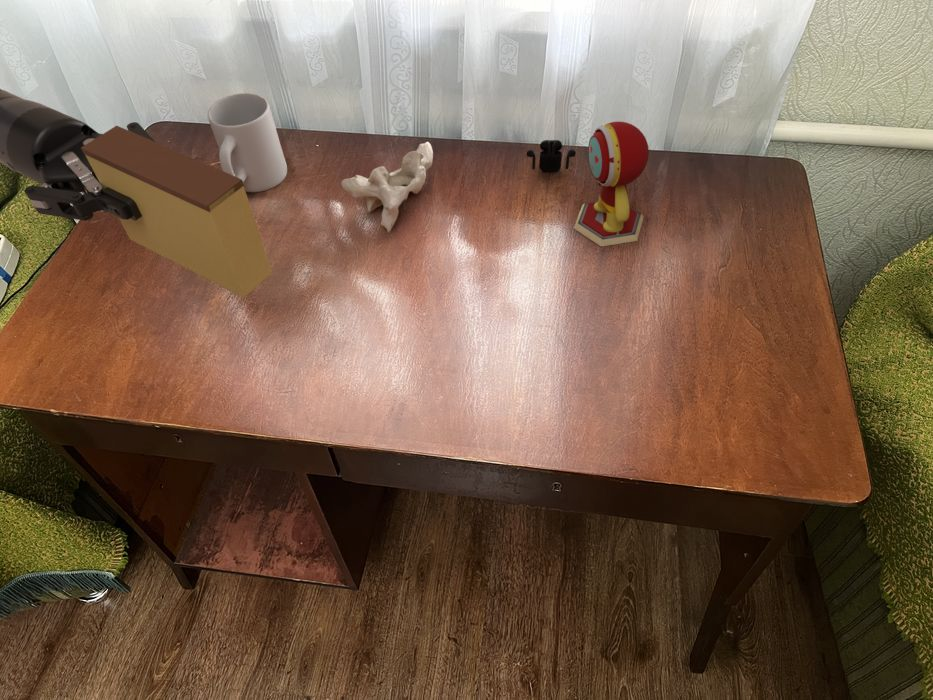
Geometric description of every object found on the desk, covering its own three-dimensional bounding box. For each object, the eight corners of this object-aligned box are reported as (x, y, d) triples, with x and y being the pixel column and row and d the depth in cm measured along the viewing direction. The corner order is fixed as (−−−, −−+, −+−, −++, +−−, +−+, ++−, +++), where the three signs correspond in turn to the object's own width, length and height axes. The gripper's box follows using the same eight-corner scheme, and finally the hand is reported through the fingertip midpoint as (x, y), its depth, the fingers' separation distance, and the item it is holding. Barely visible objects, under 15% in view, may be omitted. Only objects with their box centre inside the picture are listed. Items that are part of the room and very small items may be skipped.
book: (129, 240, 71) (80, 147, 63) (160, 217, 73) (116, 125, 65) (243, 298, 66) (207, 206, 57) (273, 272, 68) (242, 179, 59)
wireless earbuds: (526, 173, 102) (527, 144, 98) (525, 163, 104) (527, 133, 100) (573, 173, 102) (577, 143, 98) (573, 163, 103) (576, 133, 99)
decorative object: (353, 219, 99) (334, 171, 93) (418, 166, 105) (404, 118, 99) (396, 236, 94) (378, 187, 88) (462, 180, 100) (449, 130, 94)
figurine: (564, 208, 97) (574, 112, 85) (632, 197, 98) (651, 101, 86) (583, 249, 92) (595, 153, 80) (654, 238, 92) (677, 141, 81)
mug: (243, 155, 107) (221, 90, 99) (295, 160, 106) (278, 94, 97) (212, 205, 100) (185, 139, 91) (267, 211, 99) (246, 145, 90)
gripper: (-43, 147, 65) (75, 207, 59) (81, 78, 73) (198, 125, 67) (0, 210, 71) (112, 271, 65) (111, 140, 79) (221, 188, 73)
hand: (155, 196), depth 66 cm, fingers closed on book, 4 cm apart
